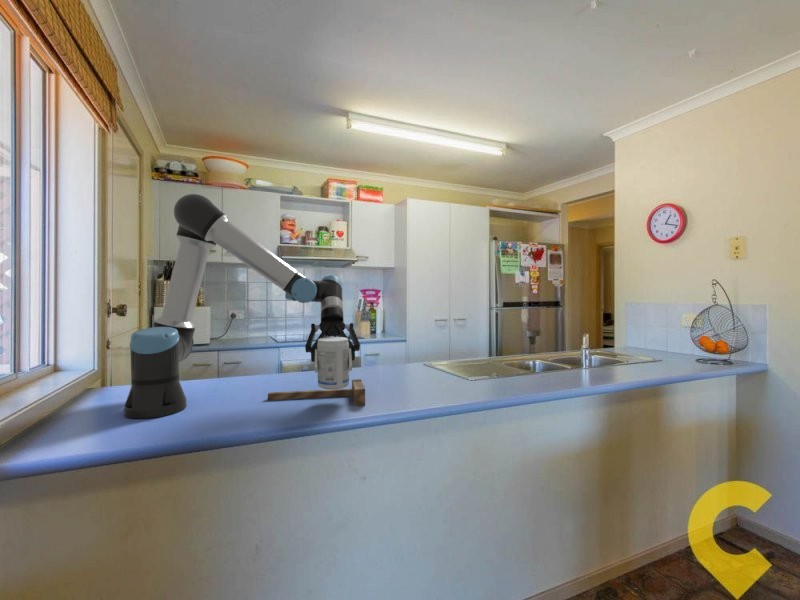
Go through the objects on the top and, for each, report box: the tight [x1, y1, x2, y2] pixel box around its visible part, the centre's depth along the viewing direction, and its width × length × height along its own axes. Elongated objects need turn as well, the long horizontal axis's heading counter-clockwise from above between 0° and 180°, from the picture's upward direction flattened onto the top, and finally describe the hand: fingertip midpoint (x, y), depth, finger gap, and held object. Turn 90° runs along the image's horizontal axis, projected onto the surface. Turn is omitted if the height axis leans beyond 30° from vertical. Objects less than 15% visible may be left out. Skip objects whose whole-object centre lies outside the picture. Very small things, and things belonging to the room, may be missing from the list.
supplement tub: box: [317, 336, 350, 390], centre depth 118 cm, size 10×10×15 cm
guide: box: [267, 378, 366, 407], centre depth 119 cm, size 30×13×5 cm, turn 101°
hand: (333, 369), depth 115 cm, fingers closed on supplement tub, 9 cm apart
